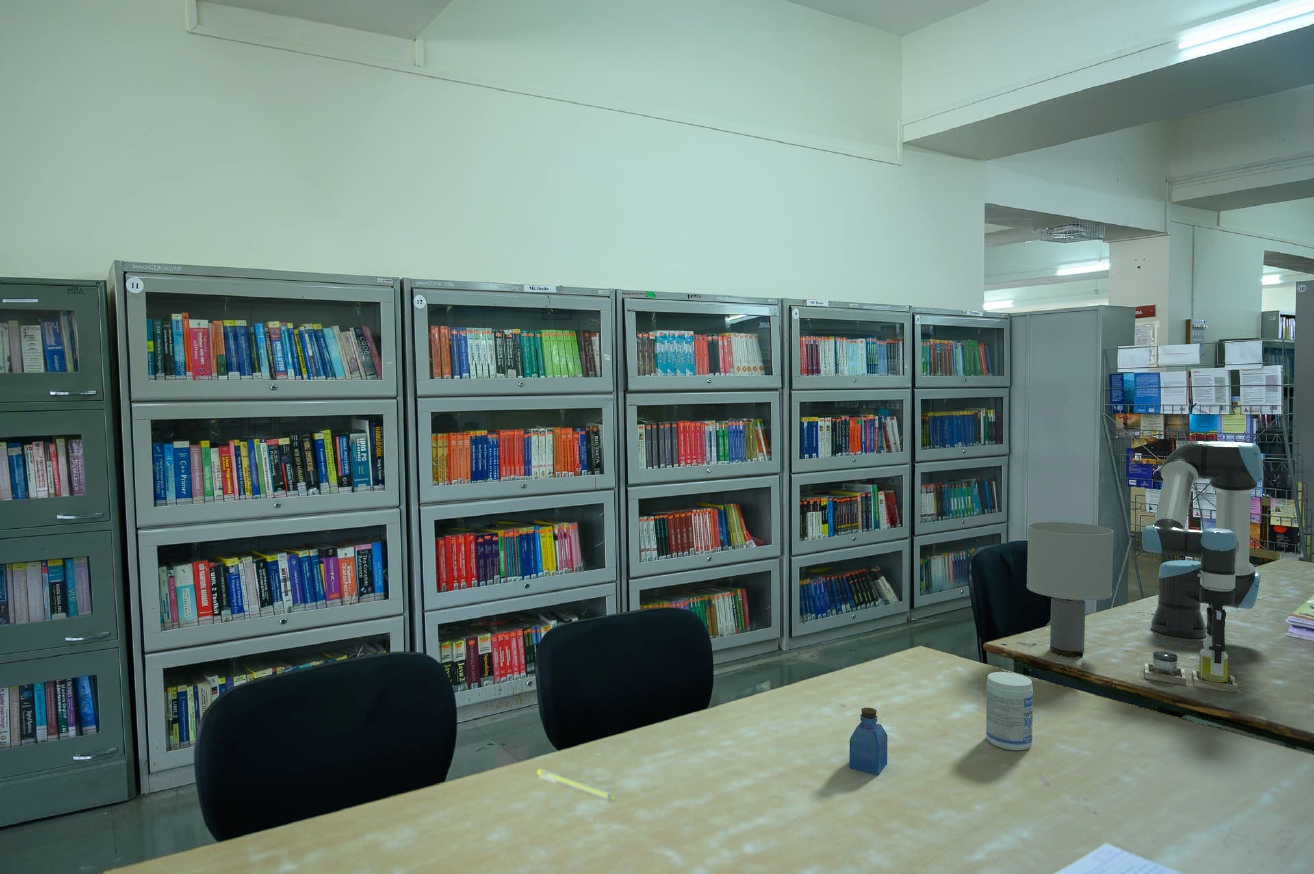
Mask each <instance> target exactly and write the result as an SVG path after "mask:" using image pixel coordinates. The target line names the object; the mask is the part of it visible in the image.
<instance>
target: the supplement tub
mask: <svg viewBox="0 0 1314 874" xmlns="http://www.w3.org/2000/svg"><path fill="white" fill-rule="evenodd" d="M1033 689H1034V687H1033V680H1032V679H1030V678H1029V677H1027V676H1025V675H1022V674H1019V673H1015V672H1008V671H997V672H996V671H995V672H994V671H993V672H991V673H989V674H987V679H986V694H985V695H986V702H985V703H986V705H985V706H986V707H985V709H986V710H985V711H986V713H985V714H986V715H985V717H986V718H985V737H986V740H987V741H988V742H989V743H990V744H992V745H993V746H995V747H998V748H1000V749H1003V750H1008V751H1024V750H1029V748H1031V747H1032V744H1033V710H1034V709H1033V707H1034V706H1033V703H1034V701H1033V700H1034V699H1033V697H1034V695H1033V693H1034V692H1033V691H1034V690H1033Z"/></svg>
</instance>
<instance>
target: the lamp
mask: <svg viewBox="0 0 1314 874" xmlns="http://www.w3.org/2000/svg"><path fill="white" fill-rule="evenodd" d="M1114 532H1115V531H1114V530H1113V529H1112V528H1109V527H1105V526H1100V525H1095V524H1088V523H1080V522H1079V523H1077V522H1065V521H1064V522H1063V521H1045V522H1044V521H1042V522H1033V523H1029V524H1028V525H1027V563H1026V566H1027V567H1026V571H1027V572H1026V588H1027V590H1029V591H1031V592H1033V593H1035V594H1039V595H1042V596H1046V597H1050V598H1051V599H1050V601H1051V602H1050V628H1049V629H1050V631H1049V632H1050V633H1049V635H1050V638H1049V639H1050V641H1049V651H1050V652H1051V653H1052V654H1054V653H1055V654H1054V655H1056V654H1057V656H1060V655H1062V656H1061V657H1064V656H1065V657H1066V658H1081V657H1084V653H1085V639H1086V638H1085V637H1086V636H1085V635H1086V634H1085V633H1086V630H1085V628H1086V601H1099V600H1100V601H1101V600H1102V601H1103V600H1107V599H1110V598H1112V596H1113V563H1114V562H1113V561H1114V559H1113V558H1114ZM1065 657H1064V658H1065Z"/></svg>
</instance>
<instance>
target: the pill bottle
mask: <svg viewBox="0 0 1314 874" xmlns="http://www.w3.org/2000/svg"><path fill="white" fill-rule="evenodd" d="M1202 645H1203V646H1202V647H1203V648H1201V649H1200V651H1199V664H1198V665H1199V667H1198V668H1199V669H1198V671H1199V680H1203V681H1210V682H1217V683H1223V684H1228V675H1229V655H1228V653H1227V652H1226V651H1224V673H1223V676H1219V675H1212V674H1210V668H1211V650H1209V646H1211V647H1212V640H1207V639H1205V640H1203V643H1202ZM1219 646H1221V645H1219Z"/></svg>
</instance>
